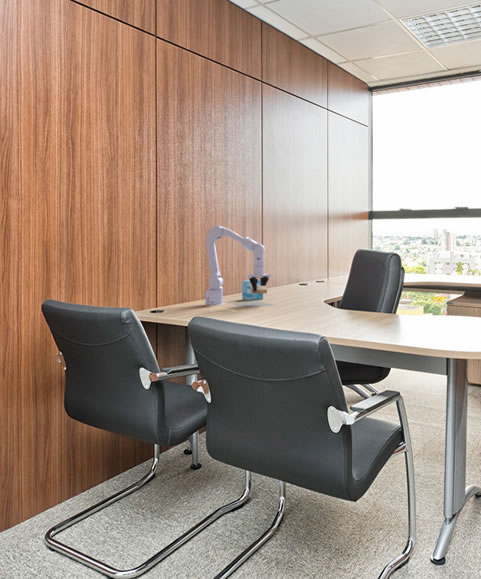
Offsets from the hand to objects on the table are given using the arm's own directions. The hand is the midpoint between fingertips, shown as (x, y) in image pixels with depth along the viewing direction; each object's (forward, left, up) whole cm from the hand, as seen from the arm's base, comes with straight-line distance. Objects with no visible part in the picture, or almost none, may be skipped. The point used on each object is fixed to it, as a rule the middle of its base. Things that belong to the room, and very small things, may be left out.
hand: (258, 290), depth 305 cm
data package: (+11, +21, -9) cm, 25 cm away
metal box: (0, 0, -1) cm, 1 cm away
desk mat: (-2, +3, -8) cm, 9 cm away
